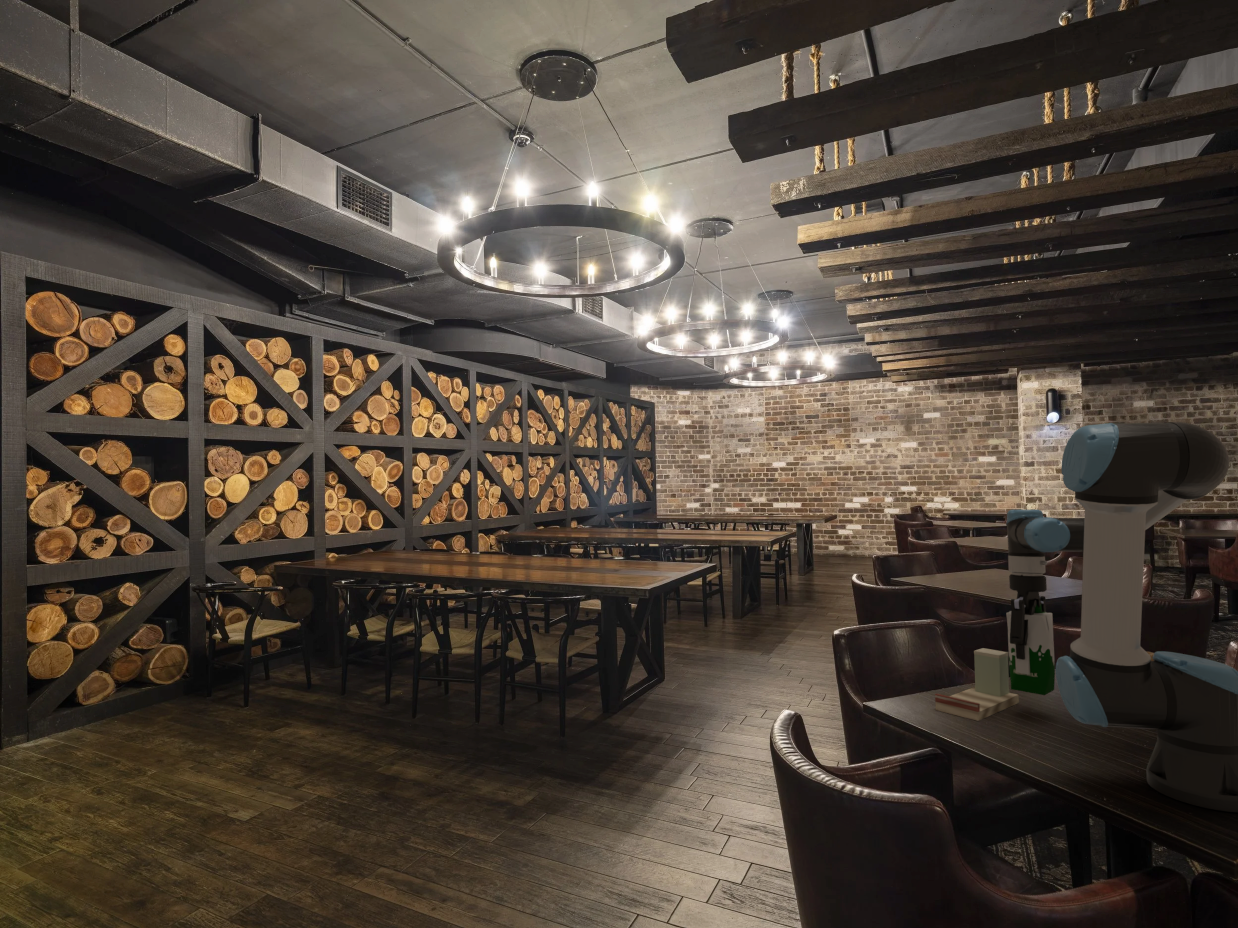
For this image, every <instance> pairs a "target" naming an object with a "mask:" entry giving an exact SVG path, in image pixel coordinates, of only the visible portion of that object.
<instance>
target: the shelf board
mask: <svg viewBox="0 0 1238 928" xmlns="http://www.w3.org/2000/svg"><path fill="white" fill-rule="evenodd" d="M1019 696H1020V695H1019V694H1017V693H1011V692H1009V694H1006V695H1004V696H1001V697H999V696H994V695H990V694H985V693H981V692H976V691H975V686H973V687H971V688H968V689H965V690H963V691H960V692H957V693H954V694H952V695H949V696H948V695H944V694H940V693H935V694H934V698H935V700H934V701H935V703H934V704H935V705H934V706H935V708H934V709H935V711H937V712H938V711H939V712H942V713H945V714H950V715H953V716H958V717H962V718H965V719H969V720H973V721H978V722H979V721H981V720H984V719H986V718H988V717H991V716H992V715H995V714H998V713H999V712H1002V711H1003V710H1006V709H1008V708H1010V707H1012V706H1013V707H1014V706H1015V705H1017V704H1019V703H1020V698H1019Z"/></svg>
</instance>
